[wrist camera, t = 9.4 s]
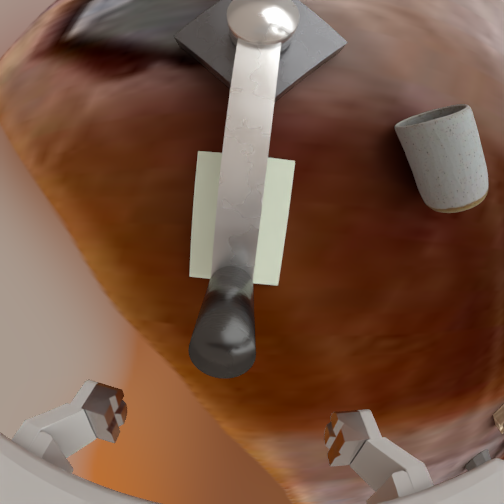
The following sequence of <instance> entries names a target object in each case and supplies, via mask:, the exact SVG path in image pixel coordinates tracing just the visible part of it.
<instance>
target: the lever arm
mask: <svg viewBox="0 0 504 504" xmlns="http://www.w3.org/2000/svg"><path fill="white" fill-rule="evenodd" d="M227 21H228V28H229V34H230V38H231V40H232V42H233V43H234V45H235V46H236V54H235V60H234V67H233V74H232V80H231V87H230V95H229V102H228V110H227V117H226V125H225V133H224V142H223V150H222V159H221V168H220V178H219V188H218V198H217V209H216V220H215V231H214V243H213V256H212V270H211V279H210V282H209V285H208V288H207V291H206V294H205V297H204V300H203V303H202V306H201V309H200V312H199V316H198V319H197V322H196V325H195V328H194V331H193V335H192V338H191V341H190V345H189V355H190V358H191V361H192V362H193V364H194V365H195V366H196V367H197V368H198V369H199V370H200V371H202V372H203V373H205V374H207V375H210V376H213V377H217V378H233V377H237V376H239V375H242V374H244V373H245V372H247V371H248V370H249V369H250V368H251V366H252V365H253V363H254V361H255V356H256V349H255V321H254V293H253V275H254V267H255V259H256V251H257V243H258V235H259V226H260V218H261V210H262V202H263V194H264V186H265V177H266V169H267V161H268V152H269V144H270V136H271V127H272V119H273V110H274V102H275V93H276V85H277V76H278V68H279V59H280V52H282V51H283V50H285V49H286V48H287V47H288V46H289V45H290V43H291V42H292V39H293V36H294V34H295V31H296V28H297V25H298V23H299V11H298V8H297V6H296V5H295V4H294V2H293V1H292V0H233V1H232V2H231V3H230V4H229V6H228V9H227Z"/></svg>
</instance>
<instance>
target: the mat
mask: <svg viewBox="0 0 504 504" xmlns="http://www.w3.org/2000/svg"><path fill="white" fill-rule="evenodd" d="M221 159H222V153H219V152H205V151H198V157H197V167H196V177H195V189H194V202H193V215H192V231H191V250H190V274H189V277H198V278H207V279H211V270H212V256H213V243H214V231H215V220H216V209H217V198H218V188H219V178H220V168H221ZM294 167H295V161H291V160H284V159H276V158H268V161H267V169H266V177H265V186H264V194H263V202H262V210H261V218H260V226H259V235H258V243H257V251H256V259H255V267H254V275H253V283H255V284H266V285H277V286H278V282H279V275H280V269H281V262H282V255H283V249H284V242H285V235H286V228H287V221H288V213H289V206H290V198H291V191H292V183H293V175H294Z"/></svg>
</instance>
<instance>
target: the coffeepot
mask: <svg viewBox="0 0 504 504" xmlns="http://www.w3.org/2000/svg"><path fill="white" fill-rule="evenodd" d="M489 460H491V457H490V455H489V452H488V450H484V451H482V452H481V453H479V454H478V455H477V456H475V457H474V458H473V459H472V460H471V461H470V462H469V463H468V464H467V465H466V469H467V470H468V471H470V470H472V469H474V468H476V467H478V466H480V465H481V464H483V463H485V462H487V461H489Z"/></svg>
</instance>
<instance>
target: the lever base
mask: <svg viewBox="0 0 504 504" xmlns="http://www.w3.org/2000/svg"><path fill="white" fill-rule="evenodd" d="M232 1H233V0H220V1H219V2H217V3H216V4H215V5H213V6H212V7H210V8H209V9H207V10H206V11H205V12H203V13H202V14H201V15H199V16H198V17H197V18H195V19H194V20H193V21H191V22H190V23H189V24H187V25H186V26H185V27H184V28H182V29H181V30H180V31H179V32H178V33H176V34H175V35H174V38H175V40H176V41H177V43H178V45H179V46H180V47H181V48H182V49H183V50H184V51H186V52H187V53H188V54H189V55H191V56H192V57H193V58H194V59H196V60H197V61H198V62H199V63H200V64H202V65H203V66H204V67H205V68H206V69H207V70H209V71H210V72H211V73H212V74H213V75H214V76H216V77H217V78H218V79H219V80H220V81H221V82H222V83H223V84H225V85H226V86H227V87H228V88H229V89H230V87H231V80H232V74H233V67H234V60H235V54H236V46H235V45H234V43H233V42H232V40H231V38H230V34H229V28H228V21H227V9H228V6H229V4H230V3H231V2H232ZM292 1H293V2H294V4H295V5H296V6H297V8H298V11H299V23H298V25H297V28H296V31H295V34H294V36H293V39H292V42H291V43H290V45H289V46H288V47H287V48H286V49H285V50H283V51H282V52H280V59H279V68H278V76H277V85H276V93H275V102H276V101H277V100H278V99H280V98H281V97H282V96H283V95H284V94H286V93H287V92H288V91H289V90H290V89H292V88H293V87H294V86H295V85H297V84H298V83H299V82H300V81H302V80H303V79H304V78H306V77H307V76H308V75H309V74H311V73H312V72H313V71H315V70H316V69H317V68H319V67H320V66H321V65H323V64H324V63H325V62H327V61H328V60H329V59H331V58H332V57H333V56H335V55H336V54H338V53H339V52H340V51H341V50H342V48H343V47H344V46H345V45H346V44H347V43H348V42H347V41H346V40H344V39H343V38H342V37H341V36H340V35H339V34H338V33H337V32H336V31H335V30H334V29H333V28H331V27H330V26H329V25H328V24H327V23H326V22H325V21H324V20H322V19H321V18H320V17H319V16H318V15H316V14H315V13H314V12H313V11H312V10H310V9H309V8H308V7H307V6H305V5H304V4H303V3H301V2H300V1H299V0H292ZM275 102H274V103H275Z"/></svg>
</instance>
